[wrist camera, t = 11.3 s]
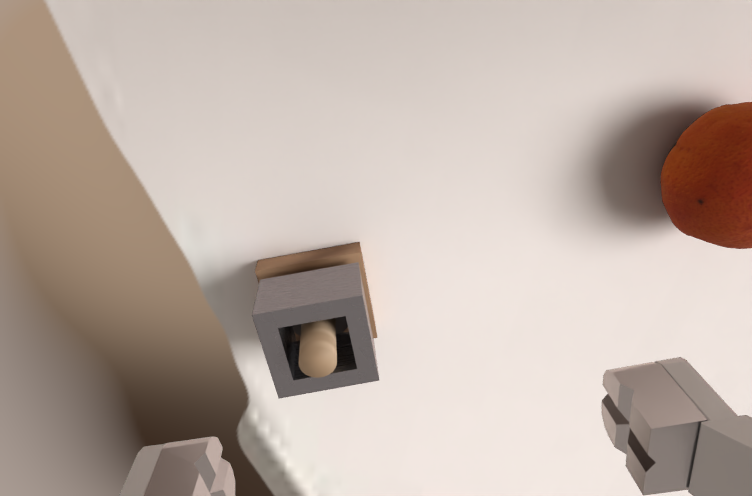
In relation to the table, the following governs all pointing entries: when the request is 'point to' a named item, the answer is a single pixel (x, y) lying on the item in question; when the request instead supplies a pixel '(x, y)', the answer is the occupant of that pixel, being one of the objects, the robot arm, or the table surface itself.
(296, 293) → the grey square frame
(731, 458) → the robot arm
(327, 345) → the post block
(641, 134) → the table surface
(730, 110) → the fruit
